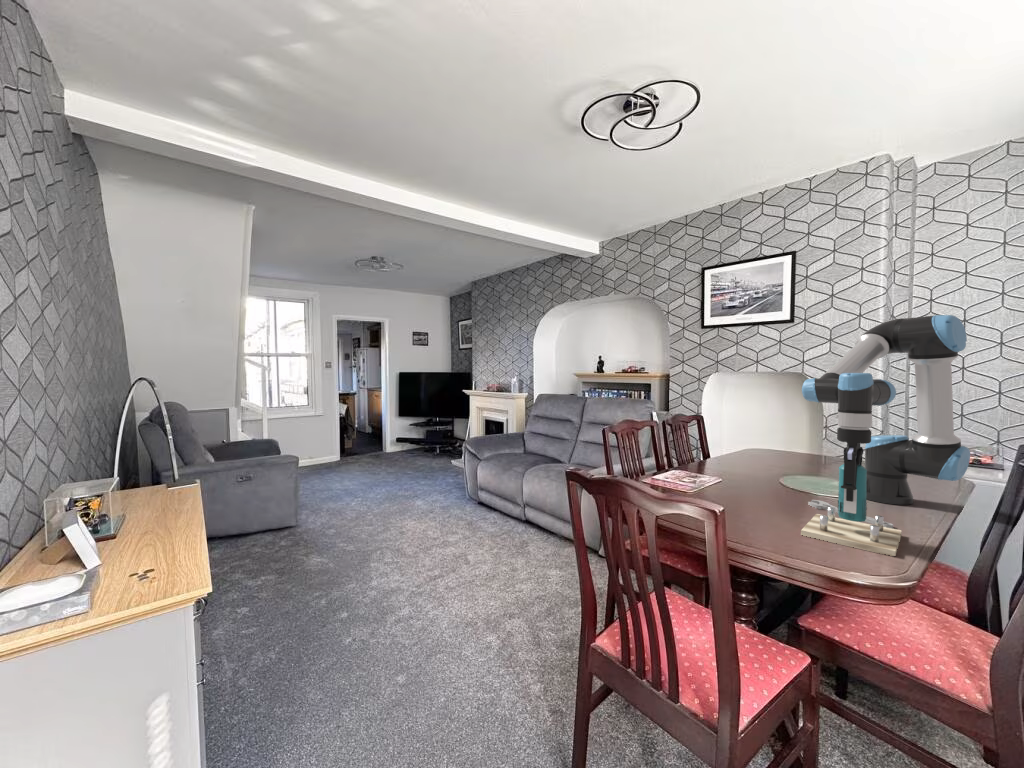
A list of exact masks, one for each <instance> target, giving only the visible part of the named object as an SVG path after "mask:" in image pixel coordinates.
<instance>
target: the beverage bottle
mask: <svg viewBox="0 0 1024 768" xmlns="http://www.w3.org/2000/svg"><path fill="white" fill-rule="evenodd" d="M857 458H858V456H857ZM842 459H843V460H844V457H843V458H842ZM856 462H857V461H856ZM860 462H862V463H863V455H862V456H861V457H860ZM843 478H844V463H843V464H841V465H840V466H838V495H837V496H838V497H837V498H838V499H837V508H838V513H837V515H838V518H841V519H845V520H850V521H856V522H861V523H865V520H866V516H868V515H867V510H868V507H867V505H868V502H867V499H866V497H867V495H866V494H867V490H866V480H867V470H866V469H865V466H863V465H859V466H858V467H857V480H856V490H857V504H856V514H854V513H849V512H844V488H841V486H843ZM847 484H849V483H847Z"/></svg>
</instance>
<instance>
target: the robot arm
mask: <svg viewBox="0 0 1024 768" xmlns="http://www.w3.org/2000/svg"><path fill="white" fill-rule="evenodd" d="M854 344H855V345H854V346H853V347H852V348H851V349H850V350H849V351H847V352H846V353H845V354H844V355H843V356H841V358H840V359H839V360H838V361H836V362H835V363H834V364H833V366H831V367H830V368H828V370H827V371H826V372H825V373H824V374H823V375H821V376H820V377H819V378H816V377H814V378H807V379H805V380H804V382H803V383H802V387H801V394H802V397H803V398H804V400H806V401H807V402H815V403H818V404H819V403H827V404H829V403H830V404H837V414H835V416H834V417H835V419H837V425H838V428H837V430H836V431H837V432H836V440H837V441H839V442H842V443H846V446H845V447H843V458H844V459H843V464H844V478H843V486H841V488H844V512H849V513H854V514H856V504H857V490H856V480H857V467H858V466H859V465H862V464H863V461H862V462H860V457H861V456H862V457H863V455H864V453H865V455H864V468H865V469H866V470H867V480H866V490H867V494H866V495H867V497H866V500H867V501H872V502H876V503H881V504H888V505H900V506H901V505H902V506H905V505H912V504H913V503H914V495H913V492H912V490H911V488H910V485H909V482H908V475H912V476H919V477H925V478H931V479H936V480H938V481H950V482H956V481H959V480H961V479H962V478H963V477H964V475H965V474H966V472H967V470H968V468H969V464H970V461H971V452H970V448H968V447H967V446H964V445H962V440H961V438H959V437H958V436H957V435H955V431H954V430H955V429H954V427H955V426H954V403H953V401H954V399H953V377H952V376H953V374H952V373H953V372H952V362H953V361H954V360H955V359H957V358H958V357H959V353H960V352H962V351H964V350H965V349H966V347H967V331H966V329H965V326H964V323H963V322H962V321H961V319H960V318H958V317H957V316H956V315H951V314H941V315H940V314H936V315H927V316H918V317H907V318H895V319H890V320H886V321H885V322H882V323H880V324H878V325H875V326H873V327H872V328H870V329H868V330H867V331H865V332H864V333H863V334H862V335H860V336H859V337H858V338H857V339H856V341H855V343H854ZM895 353H896V354H903V353H904V354H907V357H908V360H909V361H910V362H912V363H914V376H915V377H914V378H915V379H914V380H915V396H916V399H915V401H916V421H917V425H916V426H917V433H916V434H914V435H913V436H912V437H911V440H910V438H909V436H908V435H901V434H893V435H892V434H887V435H886V434H884V435H872V430H871V428H872V427H873V406H877V407H879V406H880V407H881V406H884V405H887V404H890V403H891V402H892V401H894V399H895V398H896V396H897V391H896V390H897V389H896V388H895V386H894V384H893V383H892V382H890V381H888V380H885V379H876V378H874V376H873V374H872V373H869V372H865V371H867V369H868V368H870V367H871V365H872V364H873V363H875V362H876V361H877V360H879V359H882V358H885V356H887V355H890V354H895ZM862 444H863V445H865V447H864V448H863V446H861V445H862ZM864 449H865V450H864ZM857 456H858V458H857ZM856 461H857V462H856ZM862 466H863V465H862ZM847 483H849V484H847Z"/></svg>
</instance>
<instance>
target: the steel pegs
mask: <svg viewBox="0 0 1024 768" xmlns="http://www.w3.org/2000/svg"><path fill="white" fill-rule="evenodd" d="M835 517H836V512H835V508H834V507H828V510H827V515H825V514H820V530H821V531H828V521H831V522H835ZM874 517H875V518H874V519H875V524H871V525H870V541H872V542H876V543H878V542H879V531H880V532H883V521H884V519H885V518H884V516H883V515H879V514H877V515H875V516H874Z"/></svg>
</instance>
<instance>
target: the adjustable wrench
mask: <svg viewBox="0 0 1024 768" xmlns="http://www.w3.org/2000/svg"><path fill="white" fill-rule="evenodd" d="M807 504H808V505H810V506H812V507H811V508H813V507H815V508H814V509H816V508H818V509H817V510H822V509H825V510H824V511H828V507H834V508H835V513H836V512H837V513H836V514H838V506H834V505H832V504H831V503H828V502H826V501H823V500H817V499H811V501H807ZM808 505H807V506H808ZM810 506H809V507H810ZM864 523H867V524H871V525H875V518H874V517H871V516H868V515H867V516H866V520H865V521H864ZM883 527H886V528H892V529H894V524H893V523H891V522H887V521H883Z"/></svg>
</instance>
